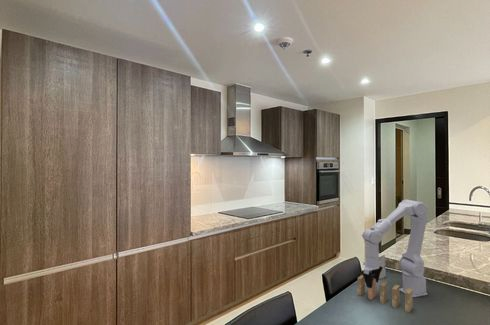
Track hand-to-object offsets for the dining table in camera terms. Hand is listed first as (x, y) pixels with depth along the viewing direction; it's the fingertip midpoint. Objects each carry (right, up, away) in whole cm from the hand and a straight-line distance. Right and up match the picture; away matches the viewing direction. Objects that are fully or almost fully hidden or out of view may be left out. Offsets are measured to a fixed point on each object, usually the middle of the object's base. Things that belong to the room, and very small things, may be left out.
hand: (372, 284), depth 125 cm
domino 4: (+7, -6, -7) cm, 12 cm away
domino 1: (-4, -6, +4) cm, 8 cm away
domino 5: (+11, -6, -11) cm, 16 cm away
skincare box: (+14, -6, +21) cm, 26 cm away
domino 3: (+3, -6, -4) cm, 8 cm away
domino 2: (0, -6, 0) cm, 6 cm away
